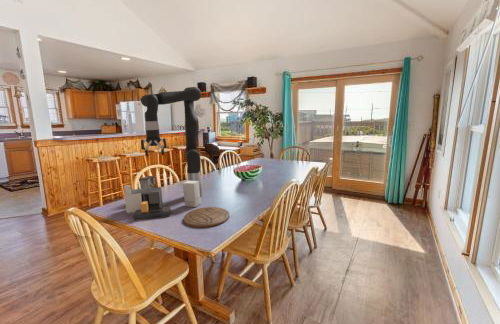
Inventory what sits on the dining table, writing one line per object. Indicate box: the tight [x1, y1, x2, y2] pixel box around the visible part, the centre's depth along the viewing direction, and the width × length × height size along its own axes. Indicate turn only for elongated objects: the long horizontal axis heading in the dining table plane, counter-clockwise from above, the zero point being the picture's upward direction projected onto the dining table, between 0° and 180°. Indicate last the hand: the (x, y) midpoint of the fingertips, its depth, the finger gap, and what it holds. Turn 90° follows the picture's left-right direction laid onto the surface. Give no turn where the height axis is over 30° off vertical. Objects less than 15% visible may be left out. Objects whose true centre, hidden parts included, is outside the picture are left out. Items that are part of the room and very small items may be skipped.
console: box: [132, 206, 171, 221], centre depth 144 cm, size 19×8×3 cm, turn 103°
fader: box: [141, 201, 149, 213], centre depth 143 cm, size 3×4×5 cm
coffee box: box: [138, 175, 157, 189], centre depth 172 cm, size 9×6×16 cm
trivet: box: [183, 206, 230, 229], centre depth 139 cm, size 25×25×2 cm
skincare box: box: [182, 180, 202, 208], centre depth 158 cm, size 8×7×16 cm
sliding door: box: [123, 184, 142, 214], centre depth 147 cm, size 9×2×16 cm, turn 103°
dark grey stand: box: [127, 186, 164, 216], centre depth 153 cm, size 18×12×12 cm
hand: (155, 155), depth 151 cm, fingers open, 8 cm apart
